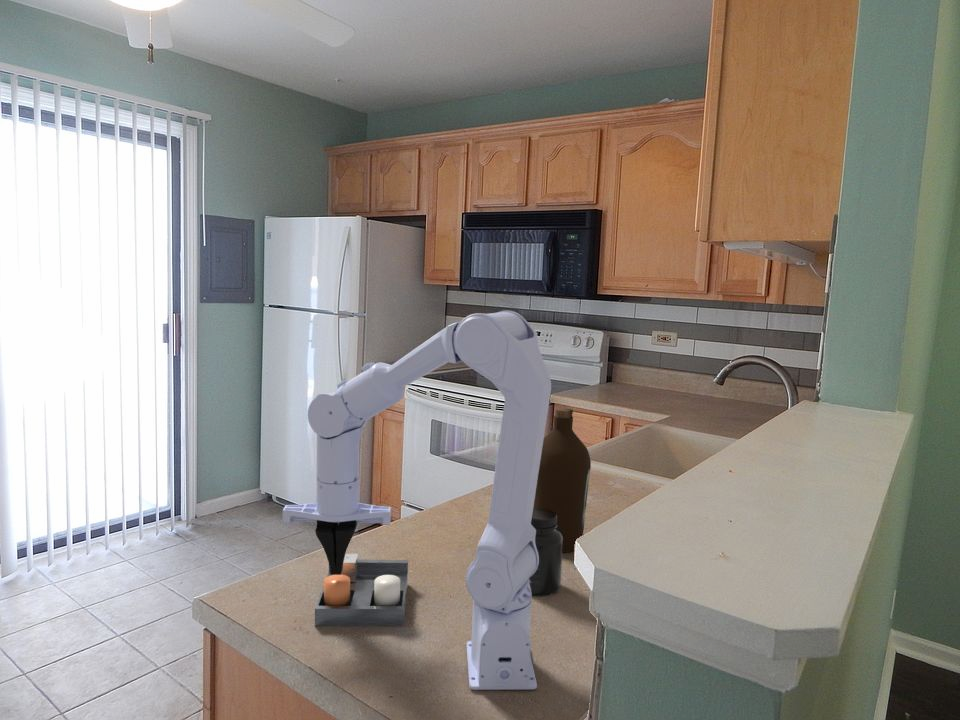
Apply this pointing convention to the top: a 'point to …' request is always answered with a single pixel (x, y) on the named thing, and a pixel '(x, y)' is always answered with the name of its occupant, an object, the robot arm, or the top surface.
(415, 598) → the top surface
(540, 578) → the supplement bottle
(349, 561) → the slider knob
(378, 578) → the ivory button
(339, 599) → the orange button
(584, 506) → the olive oil
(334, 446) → the robot arm
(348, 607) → the panel
